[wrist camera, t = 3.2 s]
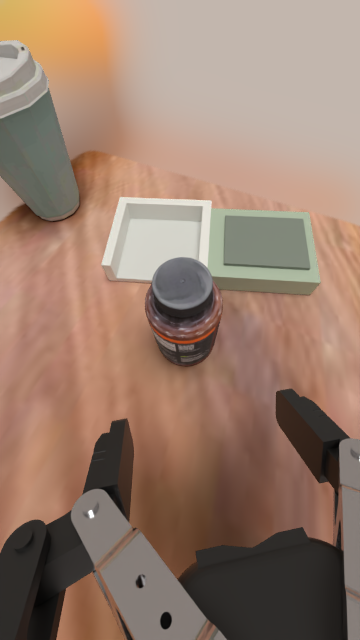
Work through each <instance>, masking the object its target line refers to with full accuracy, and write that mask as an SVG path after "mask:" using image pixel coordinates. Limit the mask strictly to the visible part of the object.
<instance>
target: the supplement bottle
mask: <svg viewBox="0 0 360 640" xmlns="http://www.w3.org/2000/svg"><path fill="white" fill-rule="evenodd" d="M222 310H223V300H222V295H221V292H220V290H219V288H218V286H217V285H216V283H215V282H214V281H213V278H212V275H211V273H210V271H209V270H208V268H207V267H206V266H205V265H204V264H203V263H201V262H200V261H198V260H195V259H193V258H188V257H178V258H173V259H170V260H168V261H166V262H164V263H163V264H162V265H160V266H159V267H158V269H157V270H156V272H155V273H154V275H153V278H152V284H151V286H150V288H149V290H148V292H147V294H146V298H145V311H146V315H147V318H148V321H149V324H150V326H151V329H152V331H153V334H154V336H155V339H156V341H157V344H158V346H159V349H160V351H161V352H162V354H163V355H164V356H165V358H167V359H168V360H169V361H171V362H172V363H174V364H177V365H182V366H191V365H195V364H198V363H200V362H202V361H203V360H204V359H205V358H206V357H207V356H208V355H209V354H210V352H211V350H212V348H213V346H214V343H215V339H216V335H217V331H218V327H219V323H220V320H221V315H222Z"/></svg>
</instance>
